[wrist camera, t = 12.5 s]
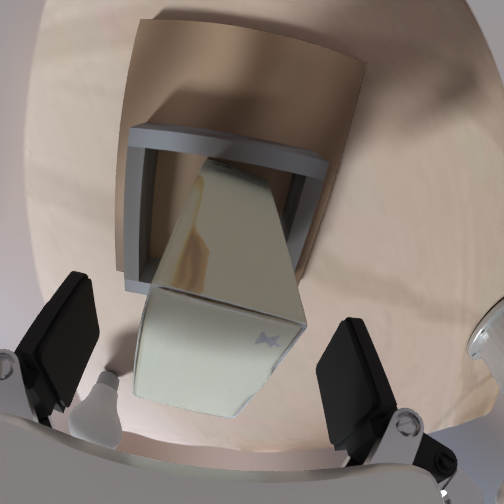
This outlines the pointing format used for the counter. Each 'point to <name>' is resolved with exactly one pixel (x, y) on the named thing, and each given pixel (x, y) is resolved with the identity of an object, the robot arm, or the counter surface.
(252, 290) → the skincare box
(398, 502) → the robot arm
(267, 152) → the holder board
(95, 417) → the lightbulb
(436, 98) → the counter surface
